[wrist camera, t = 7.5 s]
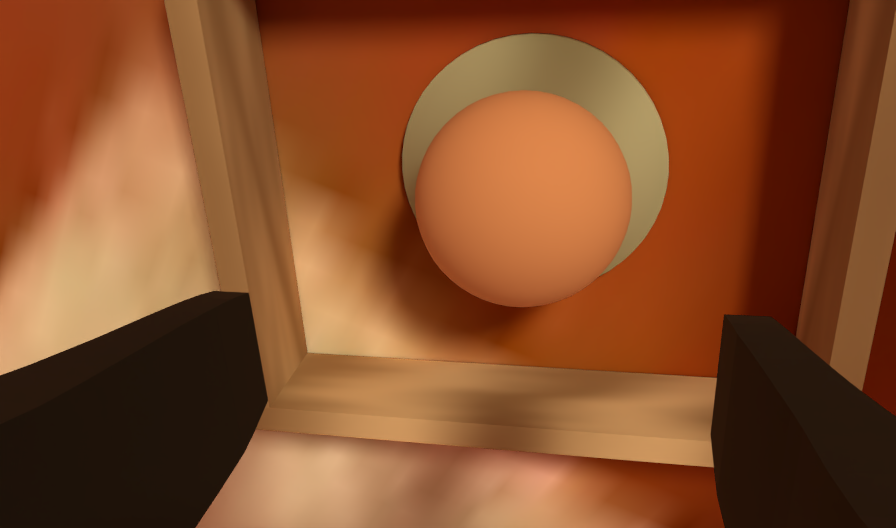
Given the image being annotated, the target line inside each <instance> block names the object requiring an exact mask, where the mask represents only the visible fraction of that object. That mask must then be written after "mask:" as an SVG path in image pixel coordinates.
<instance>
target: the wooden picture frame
mask: <svg viewBox="0 0 896 528" xmlns="http://www.w3.org/2000/svg"><path fill="white" fill-rule="evenodd" d="M164 2H165V7H166V12H167V17H168V22H169V28H170V33H171V38H172V43H173V48H174V53H175V58H176V63H177V69H178V74H179V79H180V84H181V89H182V94H183V99H184V104H185V109H186V115H187V120H188V125H189V130H190V135H191V140H192V145H193V150H194V155H195V161H196V166H197V171H198V176H199V181H200V186H201V191H202V196H203V201H204V207H205V212H206V217H207V222H208V227H209V232H210V237H211V242H212V247H213V253H214V258H215V263H216V268H217V273H218V278H219V283H220V288H221V291H224V292H245V293H249V296H250V302H251V307H252V313H253V318H254V324H255V330H256V335H257V341H258V346H259V352H260V357H261V363H262V369H263V374H264V380H265V385H266V391H267V396H268V402H267V404H266V407H265V409H264V411H263V413H262V416H261V418H260V420H259V423H258V425H257V427H256V429H258V430H270V431H282V432H294V433H306V434H318V435H330V436H342V437H354V438H366V439H378V440H390V441H402V442H414V443H426V444H438V445H451V446H463V447H475V448H487V449H499V450H511V451H523V452H535V453H547V454H559V455H571V456H583V457H595V458H607V459H619V460H631V461H643V462H655V463H667V464H679V465H691V466H703V467H714V464H713V454H712V444H711V425H712V416H713V408H714V399H715V390H716V381H717V378H710V377H693V376H677V375H660V374H644V373H627V372H611V371H594V370H578V369H562V368H545V367H529V366H512V365H496V364H479V363H463V362H446V361H430V360H414V359H397V358H381V357H364V356H348V355H331V354H315V353H307V347H306V340H305V334H304V327H303V320H302V313H301V307H300V300H299V293H298V286H297V280H296V273H295V266H294V259H293V253H292V246H291V239H290V232H289V226H288V219H287V212H286V205H285V199H284V192H283V185H282V178H281V172H280V165H279V158H278V151H277V145H276V138H275V131H274V124H273V118H272V111H271V104H270V98H269V91H268V84H267V77H266V71H265V64H264V57H263V50H262V44H261V37H260V30H259V23H258V17H257V10H256V3H255V0H164ZM519 90H530V91H541V92H546V93H551V94H554V95H557V96H560V97H563V98H566V99H568V100H570V101H572V102H574V103H576V104H578V105H580V106H581V107H583V108H584V109H586V110H587V111H589V112H590V113H592V114H593V115H594V116H595V117H596V118H597V119H598V120H600V121H601V122H602V123H603V125H604V126H605V127H606V128H607V129H608V130H609V131H610V133H611V134H612V136H613V137H614V139H615V140H616V142H617V143H618V145H619V147H620V149H621V152H622V154H623V156H624V158H625V160H626V163H627V167H628V170H629V173H630V179H631V186H632V210H631V217H630V222H629V225H628V229H627V232H626V235H625V238H624V240H623V242H622V244H621V247H620V249H619V251H618V252H617V254H616V256H615V257H614V259H613V260H612V262H611V263H610V264H609V265H608V267H607V268H606V269H605V270H604V271H603V272H602V273H601V274H600V275H602V274H604V273H606V272H608V271H609V270H611V269H612V268H614V267H615V266H616V265H618V264H619V263H621V262H622V261H623V260H624V259H625V258H626V257H628V256H629V255H630V254H631V253H632V252H633V251H634V250H635V249H636V248H637V247H638V245H639V244H640V243H641V242H642V240H643V239H644V238H645V237H646V235H647V234H648V232H649V230H650V229H651V227H652V226H653V224H654V222H655V220H656V218H657V216H658V213H659V211H660V209H661V207H662V203H663V200H664V196H665V193H666V188H667V181H668V175H669V155H668V148H667V140H666V136H665V132H664V129H663V125H662V122H661V118H660V116H659V114H658V112H657V110H656V107H655V105H654V103H653V101H652V100H651V98H650V96H649V95H648V93H647V92H646V90H645V89H644V87H643V86H642V85H641V83H640V82H639V81H638V80H637V79H636V78H635V76H634V75H633V74H632V73H631V72H630V71H629V70H628V69H626V68H625V67H624V66H623V65H622V64H621V63H620V62H619V61H617V60H616V59H614V58H613V57H611V56H610V55H608V54H607V53H605V52H604V51H602V50H600V49H598V48H596V47H594V46H592V45H590V44H588V43H585V42H582V41H579V40H576V39H573V38H570V37H566V36H560V35H554V34H545V33H525V34H514V35H509V36H505V37H501V38H496V39H493V40H491V41H488V42H485V43H483V44H480V45H478V46H476V47H474V48H472V49H470V50H469V51H467V52H465V53H463V54H462V55H460V56H459V57H458V58H456V59H455V60H454V61H452V62H451V63H450V64H448V65H447V66H446V67H445V68H444V69H443V70H442V71H441V72H440V73H439V74H438V75H437V76H436V77H435V78H434V79H433V80H432V81H431V83H430V84H429V85H428V87H427V88H426V89H425V90H424V92H423V93H422V95H421V97H420V98H419V100H418V102H417V104H416V105H415V107H414V110H413V112H412V114H411V117H410V119H409V122H408V125H407V129H406V133H405V137H404V144H403V152H402V172H403V179H404V185H405V190H406V193H407V197H408V200H409V203H410V206H411V208H412V211H413V213H414V215H415V217H416V210H415V188H416V181H417V176H418V173H419V169H420V166H421V163H422V160H423V158H424V155H425V153H426V151H427V149H428V147H429V145H430V144H431V142H432V140H433V139H434V137H435V136H436V135H437V133H438V132H439V131H440V130H441V129H442V127H443V126H444V125H445V124H446V123H447V122H448V121H449V120H450V119H451V118H452V117H454V116H455V115H456V114H457V113H458V112H460V111H461V110H463V109H464V108H465V107H467V106H468V105H470V104H472V103H474V102H476V101H478V100H480V99H483V98H486V97H488V96H491V95H494V94H499V93H503V92H508V91H519ZM416 219H417V218H416ZM895 232H896V0H850V3H849V9H848V15H847V21H846V28H845V34H844V40H843V46H842V52H841V59H840V65H839V71H838V77H837V84H836V90H835V96H834V102H833V108H832V115H831V121H830V127H829V133H828V139H827V146H826V152H825V158H824V164H823V170H822V177H821V183H820V189H819V195H818V202H817V208H816V214H815V220H814V226H813V233H812V239H811V245H810V251H809V257H808V264H807V270H806V276H805V282H804V288H803V295H802V301H801V307H800V313H799V319H798V326H797V332H796V338H798V339H799V340H800V341H801V342H802V343H803V344H805V345H806V346H807V347H808V348H809V349H811V350H812V351H813V352H814V353H815V354H816V355H818V356H819V357H820V358H821V359H822V360H824V361H825V362H826V363H827V364H828V365H830V366H831V367H832V368H833V369H834V370H836V371H837V372H838V373H839V374H841V375H842V376H843V377H844V378H846V379H847V380H848V381H849V382H850V383H852V384H853V385H854V386H856V387H857V388H858V389H859V390H861V391H862V389H863V384H864V380H865V375H866V370H867V365H868V361H869V356H870V351H871V346H872V341H873V337H874V332H875V327H876V322H877V318H878V313H879V308H880V303H881V299H882V294H883V289H884V284H885V280H886V275H887V270H888V265H889V261H890V256H891V251H892V246H893V241H894V237H895ZM600 275H599V276H600Z"/></svg>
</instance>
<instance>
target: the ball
mask: <svg viewBox="0 0 896 528" xmlns="http://www.w3.org/2000/svg"><path fill="white" fill-rule="evenodd" d="M415 210H416V218H417V223H418V227H419V231H420V234H421V236H422V239H423V241H424V244H425V246H426V248H427V250H428V252H429V254H430V255H431V257H432V259H433V260H434V262H435V263H436V264H437V266H438V267H439V268H440V269H441V271H442V272H443V273H444V274H445V275H446V276H447V277H448V278H449V279H450V280H452V281H453V282H454V283H455V284H457V285H458V286H459V287H461V288H462V289H464V290H465V291H467V292H469V293H470V294H472V295H474V296H476V297H478V298H480V299H482V300H485V301H488V302H491V303H494V304H499V305H504V306H511V307H534V306H541V305H546V304H550V303H553V302H557V301H560V300H562V299H565V298H567V297H570V296H572V295H574V294H575V293H577V292H579V291H581V290H582V289H584V288H585V287H587V286H588V285H589V284H591V283H592V282H593V281H594V280H595V279H596V278H597V277H598V276H599V275H600V274H601V273H602V272H603V271H604V270H605V269H606V268H607V267H608V265H609V264H610V263H611V262H612V260H613V259H614V257H615V256H616V254H617V252H618V251H619V249H620V247H621V244H622V242H623V240H624V238H625V235H626V232H627V229H628V225H629V222H630V217H631V210H632V186H631V179H630V173H629V170H628V167H627V163H626V160H625V158H624V156H623V154H622V152H621V149H620V147H619V145H618V143H617V142H616V140H615V139H614V137H613V136H612V134H611V133H610V131H609V130H608V129H607V128H606V127H605V126H604V125H603V123H602V122H601V121H600V120H598V119H597V118H596V117H595V116H594V115H593V114H592V113H590V112H589V111H587V110H586V109H584V108H583V107H581V106H580V105H578V104H576V103H574V102H572V101H570V100H568V99H566V98H563V97H560V96H557V95H554V94H551V93H546V92H541V91H530V90H519V91H508V92H503V93H499V94H494V95H491V96H488V97H486V98H483V99H480V100H478V101H476V102H474V103H472V104H470V105H468V106H467V107H465V108H464V109H463V110H461V111H460V112H458V113H457V114H456V115H455V116H454V117H452V118H451V119H450V120H449V121H448V122H447V123H446V124H445V125H444V126H443V127H442V129H441V130H440V131H439V132H438V133H437V135H436V136H435V137H434V139H433V140H432V142H431V144H430V145H429V147H428V149H427V151H426V153H425V155H424V158H423V160H422V163H421V166H420V169H419V173H418V176H417V181H416V188H415Z"/></svg>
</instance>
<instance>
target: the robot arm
mask: <svg viewBox="0 0 896 528" xmlns="http://www.w3.org/2000/svg"><path fill="white" fill-rule="evenodd" d="M267 402H268V396H267V391H266V385H265V380H264V374H263V369H262V363H261V357H260V352H259V346H258V341H257V335H256V330H255V324H254V318H253V313H252V307H251V302H250V296H249V293H245V292H224V291H212V292H209V293H205V294H201V295H198V296H195V297H193V298H190V299H187V300H184V301H182V302H179V303H177V304H174V305H172V306H170V307H167V308H165V309H162V310H160V311H158V312H155V313H153V314H151V315H148V316H146V317H144V318H141V319H139V320H137V321H134V322H132V323H130V324H128V325H125V326H123V327H121V328H118V329H116V330H114V331H111V332H109V333H107V334H104V335H102V336H100V337H98V338H95V339H93V340H90V341H88V342H85V343H83V344H80V345H78V346H75V347H73V348H70V349H68V350H65V351H63V352H61V353H58V354H56V355H53V356H51V357H48V358H46V359H43V360H41V361H38V362H36V363H33V364H31V365H28V366H25V367H23V368H20V369H17V370H14V371H12V372H9V373H6V374H3V375H0V528H195V527H196V526H197V524H198V523H199V521H200V520H201V518H202V517H203V515H204V514H205V512H206V511H207V509H208V508H209V506H210V505H211V503H212V502H213V500H214V499H215V497H216V496H217V494H218V493H219V491H220V490H221V488H222V487H223V485H224V484H225V482H226V480H227V479H228V477H229V476H230V474H231V473H232V471H233V470H234V468H235V467H236V465H237V463H238V462H239V460H240V459H241V457H242V455H243V454H244V452H245V450H246V448H247V446H248V444H249V442H250V440H251V438H252V436H253V434H254V432H255V429H256V427H257V425H258V423H259V420H260V418H261V416H262V413H263V411H264V409H265V407H266V404H267ZM711 444H712V454H713V464H714V473H715V481H716V490H717V497H718V501H719V505H720V509H721V514H722V518H723V522H724V526H725V528H896V416H894V415H893V414H892V413H890V412H889V411H887V410H886V409H885V408H883V407H882V406H880V405H879V404H878V403H876V402H875V401H874V400H872V399H871V398H870V397H869V396H867V395H866V394H865V393H863V392H862V391H861V390H859V389H858V388H857V387H856V386H854V385H853V384H852V383H850V382H849V381H848V380H847V379H846V378H844V377H843V376H842V375H841V374H839V373H838V372H837V371H836V370H834V369H833V368H832V367H831V366H830V365H828V364H827V363H826V362H825V361H824V360H822V359H821V358H820V357H819V356H818V355H816V354H815V353H814V352H813V351H812V350H811V349H809V348H808V347H807V346H806V345H805V344H803V343H802V342H801V341H800V340H799V339H798V338H796V337H795V336H794V335H793V334H792V333H791V332H789V331H788V330H787V329H786V328H785V327H783V326H782V325H781V324H780V323H778V322H777V321H776V320H774V319H773V318H772V317H768V316H746V315H724V320H723V329H722V338H721V346H720V355H719V364H718V373H717V381H716V390H715V399H714V408H713V416H712V425H711Z"/></svg>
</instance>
